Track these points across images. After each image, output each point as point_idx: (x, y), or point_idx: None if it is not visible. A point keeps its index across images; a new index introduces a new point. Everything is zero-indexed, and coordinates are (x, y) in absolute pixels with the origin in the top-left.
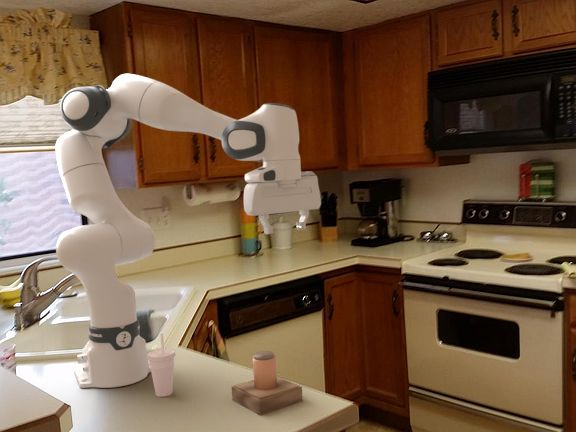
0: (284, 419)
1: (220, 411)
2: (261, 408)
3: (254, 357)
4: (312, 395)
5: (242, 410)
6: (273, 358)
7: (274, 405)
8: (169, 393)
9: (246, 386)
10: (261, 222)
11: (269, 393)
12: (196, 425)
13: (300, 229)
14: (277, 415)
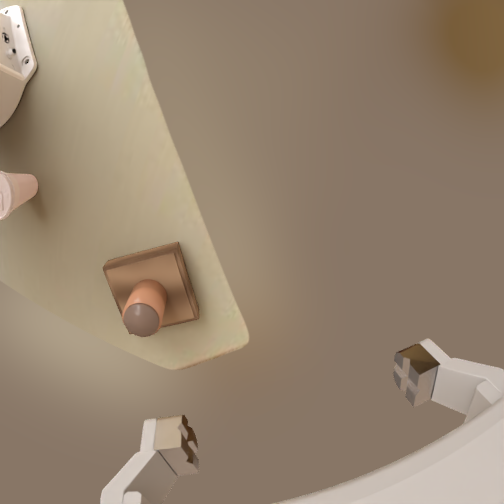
0: (158, 346)
1: (88, 289)
2: None
3: (124, 321)
4: (219, 298)
5: None
6: (154, 333)
7: None
8: (33, 196)
9: (122, 283)
10: (121, 476)
11: None
12: (60, 312)
13: (394, 378)
14: None
